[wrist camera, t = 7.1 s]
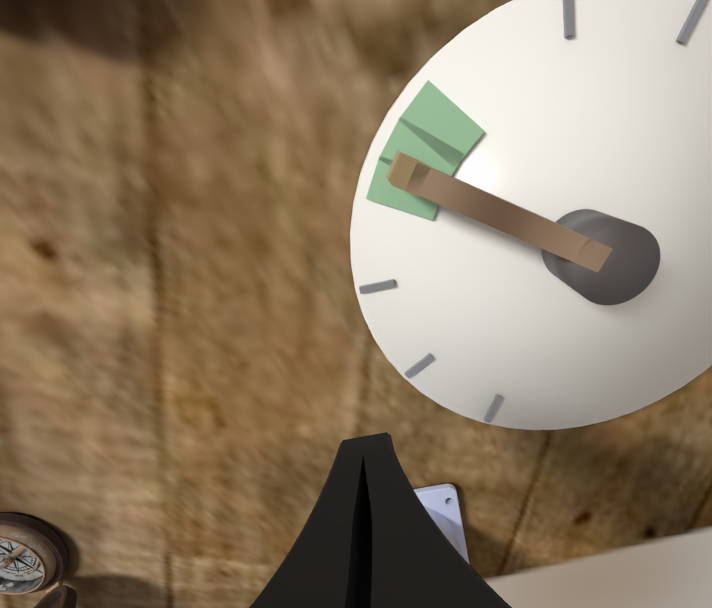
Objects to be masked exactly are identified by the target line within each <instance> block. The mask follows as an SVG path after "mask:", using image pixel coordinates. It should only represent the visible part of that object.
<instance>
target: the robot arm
mask: <svg viewBox="0 0 712 608" xmlns="http://www.w3.org/2000/svg"><path fill="white" fill-rule="evenodd" d="M448 498H451V499H449V500H446V499H448ZM249 608H512V607H511V606H509V605H508V604H507V603H506V602H505V601H504V600H503V599H502V598H501V597H500V596H499V595H498V594H497V593H496V592H495V591H494V590H493V589H492V588H491V587H490V586H489V585H488V584H487V583H486V582H485V581H484V580H483V579H482V578H481V577H480V576H479V575H478V573H477V572H476V571H475V570H474V569H473V568H472V567H471V566H470V565H469V559H468V554H467V548H466V542H465V537H464V531H463V525H462V519H461V514H460V508H459V502H458V497H457V492H456V488H455V486H453V485H452V484H442V485H436V486H430V487H425V488H419V489H413V488H412V486H411V484H410V483H409V481H408V479H407V477H406V475H405V474H404V472H403V470H402V468H401V465H400V463H399V461H398V459H397V456H396V454H395V451H394V447H393V443H392V439H391V435H389V434H388V433H380V434H375V435H369V436H364V437H358V438H353V439H348V440H343V441H342V442H341V444H340V446H339V449H338V452H337V455H336V458H335V461H334V463H333V466H332V469H331V471H330V473H329V476H328V478H327V481H326V483H325V485H324V487H323V490H322V492H321V494H320V496H319V498H318V501H317V503H316V505H315V507H314V509H313V510H312V512H311V514H310V516H309V518H308V520H307V522H306V524H305V526H304V528H303V530H302V531H301V533H300V535H299V537H298V538H297V540H296V542H295V543H294V545H293V547H292V548H291V550H290V551H289V553H288V555H287V556H286V558H285V559H284V561H283V562H282V564H281V565H280V567H279V568H278V570H277V571H276V573H275V574H274V575H273V577H272V578H271V580H270V581H269V583H268V584H267V585H266V587H265V588H264V589H263V591H262V592H261V593H260V595H259V596H258V597H257V599H256V600H255V601H254V603H253V604H252V605H251V606H250V607H249Z"/></svg>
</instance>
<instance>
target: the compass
mask: <svg viewBox="0 0 712 608" xmlns="http://www.w3.org/2000/svg"><path fill="white" fill-rule="evenodd" d="M67 562H68V555H67V549H66V548H65V546H64V544H63V542H62V540H61V538H60V537H59V536H58V535H57V534H56V533H55V532H54V531H53V530H52V529H51V528H50V527H48V526H47V525H45V524H44V523H42V522H40V521H38V520H36V519H33V518H31V517H28V516H25V515H20V514H15V513H0V593H3V594H11V595H17V594H25V593H33V592H37V591H42V590H45V589H47V588H49V587H50V588H49V589H48V590H47V591H46V593H47V595H45V596H44V597H43V598H42V599H41V600H40V602H39V603H38V604H37V605H36V606H35V607H34V608H76V602H77V593H76V591H75V590H74V589H72V588H70V587H68V586H66V585H62V581H59V579H60V578H61V577H62V575H63V572H64V571H65V569H66V566H67Z"/></svg>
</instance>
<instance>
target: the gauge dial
mask: <svg viewBox="0 0 712 608" xmlns="http://www.w3.org/2000/svg"><path fill="white" fill-rule="evenodd" d="M397 151H399V152H402V153H404V154H406V155H408V156H411V157H413V158H415V159H417V160H420V161H422V162H423V163H425V164H427V165H429V166H431V167H432V168H434V169H437V170H439V171H441V172H443V173H446V174H448V175H450V176H452V177H455V178H457V179H459V180H461V181H464V182H466V183H468V184H470V185H473V186H475V187H477V188H479V189H482V190H484V191H486V192H488V193H491V194H493V195H495V196H497V197H500V198H502V199H504V200H506V201H509V202H511V203H513V204H515V205H518V206H520V207H522V208H524V209H527V210H529V211H531V212H533V213H536V214H538V215H540V216H542V217H545V218H547V219H549V220H551V221H554V222H556V221H557V220H558V219H560V218H561V217H562V216H564V215H566V214H568V213H570V212H572V211H575V210H580V209H592V210H596V211H599V212H602V213H605V214H608V215H610V216H613V217H616V218H619V219H622V220H625V221H628V222H631V223H633V224H636V225H639V226H642V227H644V228H646V229H647V230H648V231H650V232H651V233H652V234H653V235H654V237H655V238H656V240H657V242H658V244H659V248H660V264H659V268H658V271H657V273H656V275H655V277H654V279H653V280H652V282H651V283H650V284H649V286H648V287H647V288H646V289H645V290H644V291H643V292H642V293H640V294H639V295H638V296H636V297H635V298H633V299H631V300H629V301H627V302H624V303H621V304H617V305H599V304H595V303H592V302H590V301H588V300H587V299H586V298H584V297H583V296H581V295H580V294H579V293H577V292H576V291H575V290H573V289H572V288H571V287H569V286H568V285H567V284H565V283H564V282H563V281H561V280H560V279H559V278H557V277H556V276H554V275H553V274H552V273H551V272H550V271H549V270H548V269H547V267H546V266H545V264H544V261H543V257H542V248H539V247H537V246H535V245H532V244H530V243H528V242H525V241H523V240H521V239H518V238H516V237H514V236H511V235H509V234H507V233H504V232H502V231H500V230H497V229H495V228H493V227H491V226H488V225H486V224H484V223H481V222H479V221H477V220H474V219H472V218H470V217H467V216H465V215H463V214H460V213H458V212H456V211H453V210H451V209H449V208H447V207H444V206H442V205H440V204H437V203H435V202H433V201H430V200H428V199H426V198H423V197H421V196H419V195H418V196H415V195H413V194H410V193H408V192H406V191H403V190H401V189H399V188H396V187H394V186H392V185H391V184H390V182H389V181H388V179H387V178H386V176H387V173H388V171H389V169H390V166H391V164H392V162H393V159H394V157H395V154H396V152H397ZM350 242H351V266H352V272H353V278H354V285H355V290H356V294H357V297H358V300H359V303H360V307H361V310H362V313H363V316H364V318H365V320H366V322H367V325H368V327H369V329H370V331H371V333H372V335H373V337H374V339H375V341H376V342H377V344H378V345H379V347H380V348H381V350H382V351H383V353H384V354H385V356H386V357H387V359H388V360H389V361H390V362H391V363H392V365H393V366H394V367H395V368H396V369H397V370H398V371H399V373H400V374H401V375H402V376H403V377H404V378H405V379H406V380H407V381H409V382H410V383H411V384H412V385H413V386H414V387H416V388H417V389H418V390H419V391H420V392H421V393H423V394H424V395H426V396H427V397H429V398H431V399H432V400H434V401H435V402H437V403H438V404H440V405H441V406H443V407H446V408H448V409H450V410H452V411H454V412H456V413H458V414H460V415H462V416H465V417H468V418H471V419H474V420H477V421H480V422H483V423H487V424H492V425H497V426H501V427H506V428H515V429H526V430H558V429H566V428H574V427H582V426H586V425H591V424H595V423H599V422H604V421H608V420H611V419H614V418H617V417H620V416H623V415H626V414H629V413H632V412H634V411H636V410H639V409H641V408H643V407H645V406H647V405H650V404H652V403H654V402H656V401H658V400H660V399H662V398H664V397H665V396H667V395H669V394H671V393H672V392H674V391H676V390H678V389H679V388H681V387H683V386H684V385H686V384H687V383H688V382H690V381H691V380H693V379H694V378H696V377H697V376H698V375H700V374H701V373H703V372H704V371H705V370H707V369H708V368H709V367H710V366H711V365H712V0H513V1H511V2H509V3H506V4H504V5H502V6H500V7H498V8H496V9H495V10H493V11H491V12H490V13H488V14H487V15H485V16H484V17H482V18H481V19H479V20H478V21H476V22H475V23H473V24H472V25H470V26H469V27H467V28H466V29H464V30H463V31H462V32H461V33H459V34H458V35H457V36H456V37H455V38H454V39H453V40H451V41H450V42H449V43H448V44H447V45H446V46H444V47H443V48H442V49H441V50H440V51H439V52H437V53H436V54H435V55H434V56H433V57H432V58H431V59H430V60H429V61H428V62H427V63H426V64H425V65H424V66H423V67H422V68H421V70H420V71H419V72H418V73H417V74H416V75H415V76H414V77H413V78H412V80H411V81H410V82H409V83H408V84H407V85H406V87H405V88H404V90H403V91H402V92H401V94H400V95H399V97H398V98H397V99H396V101H395V102H394V104H393V105H392V107H391V108H390V109H389V111H388V112H387V114H386V116H385V118H384V120H383V122H382V124H381V125H380V127H379V129H378V131H377V133H376V135H375V137H374V139H373V141H372V143H371V145H370V148H369V151H368V153H367V156H366V158H365V161H364V164H363V166H362V169H361V172H360V176H359V180H358V184H357V188H356V193H355V197H354V201H353V210H352V219H351V229H350Z"/></svg>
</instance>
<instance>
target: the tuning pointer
mask: <svg viewBox="0 0 712 608" xmlns="http://www.w3.org/2000/svg"><path fill="white" fill-rule="evenodd" d="M386 178H387V179H388V181H389V182H390V184H391V185H392V186H394V187H396V188H399V189H401V190H403V191H406V192H408V193H410V194H413V195H415V196H418V195H419V196H421V197H423V198H426V199H428V200H430V201H433V202H435V203H437V204H440V205H442V206H444V207H447V208H449V209H451V210H453V211H456V212H458V213H460V214H463V215H465V216H467V217H470V218H472V219H474V220H477V221H479V222H481V223H484V224H486V225H488V226H491V227H493V228H495V229H497V230H500V231H502V232H504V233H507V234H509V235H511V236H514V237H516V238H518V239H521V240H523V241H525V242H528V243H530V244H532V245H535V246H537V247H539V248H542V257H543V261H544V264H545V266H546V267H547V269H548V270H549V271H550V272H551V273H552V274H553V275H554V276H556V277H557V278H559V279H560V280H561V281H563V282H564V283H565V284H567V285H568V286H569V287H571V288H572V289H573V290H575V291H576V292H577V293H579V294H580V295H581V296H583V297H584V298H586V299H587V300H588V301H590V302H592V303H595V304H599V305H617V304H621V303H624V302H627V301H629V300H631V299H633V298H635V297H636V296H638V295H639V294H640V293H642V292H643V291H644V290H645V289H646V288H647V287H648V286H649V284H650V283H651V282H652V280H653V279H654V277H655V275H656V273H657V271H658V268H659V264H660V248H659V244H658V242H657V240H656V238H655V237H654V235H653V234H652V233H651V232H650V231H648V230H647V229H646V228H644V227H642V226H639V225H636V224H633V223H631V222H628V221H625V220H622V219H619V218H616V217H613V216H610V215H608V214H605V213H602V212H599V211H596V210H592V209H580V210H575V211H572V212H570V213H568V214H566V215H564V216H562V217H561V218H560V219H558V220H557V221H556V222H554V221H551V220H549V219H547V218H545V217H542V216H540V215H538V214H536V213H533V212H531V211H529V210H527V209H524V208H522V207H520V206H518V205H515V204H513V203H511V202H509V201H506V200H504V199H502V198H500V197H497V196H495V195H493V194H491V193H488V192H486V191H484V190H482V189H479V188H477V187H475V186H473V185H470V184H468V183H466V182H464V181H461V180H459V179H457V178H455V177H452V176H450V175H448V174H446V173H443V172H441V171H439V170H437V169H434V168H432V167H431V166H429V165H427V164H425V163H423V162H422V161H420V160H417V159H415V158H413V157H411V156H408V155H406V154H404V153H402V152H399V151H397V152H396V154H395V157H394V159H393V162H392V164H391V166H390V169H389V171H388V173H387V176H386Z"/></svg>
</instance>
